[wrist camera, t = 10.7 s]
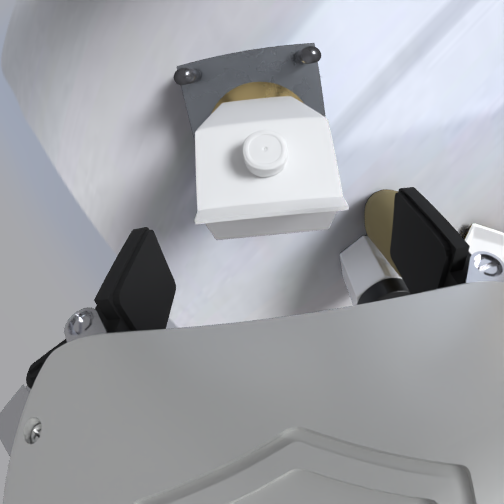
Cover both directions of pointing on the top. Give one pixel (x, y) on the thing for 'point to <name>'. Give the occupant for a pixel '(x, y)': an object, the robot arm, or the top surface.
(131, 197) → the top surface
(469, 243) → the plate
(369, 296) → the jar
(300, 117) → the milk carton
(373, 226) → the squeeze bottle
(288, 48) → the grey pegged base
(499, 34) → the top surface
